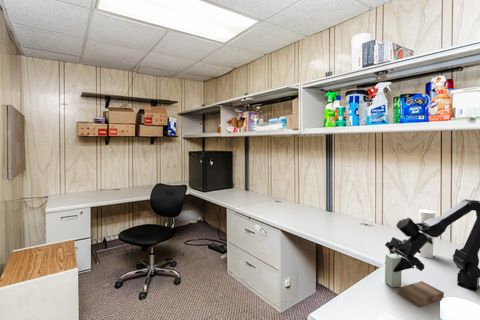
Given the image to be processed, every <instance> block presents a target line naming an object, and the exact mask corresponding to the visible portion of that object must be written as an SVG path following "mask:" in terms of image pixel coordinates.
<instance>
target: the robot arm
mask: <svg viewBox="0 0 480 320" xmlns="http://www.w3.org/2000/svg"><path fill="white" fill-rule="evenodd" d="M472 211H474V212H475V214H476V219H475V221H474V224H473V225H472V228H471V231H470V232H469V235H468V237H467V238H466V242H465V244H464V246H463V247H462V248H460V249H459V248H456V249H455V250H454V252H453V255H452V261H453V263H454V265H456V268H457V269H459V271H458V272H457V277H456V281H457V283H456V284H457V286H460V287H462V288H465V289H468V290H471V291H473V292H477V291H478V290H479V288H480V267H479V264H480V259H479V252H480V200H475V199H474V200H473V199H466V198H465V199H461V201H460V202H459V203H457V204H456V205H455V206H453V207H450V209H448V210H446V211H445V212H444V213H441V214H440V215H439V216H435V218H431V219H428V220H426V221H424V222H422V223H419V222H417V223H415V222H414V220H413V219H411V218H410V217H406V218H403V219H401V220H398V222H397V224H396V228H397V229H399V231H400V232H401V233H402V234H404V236H406V237H408V239H403V240H400V239H398V238H396V237H394V236H392V237H391V240H390V241H387V242H386V243H385V244H384V246H385V247H386V248H387V249H388V251H389V254H396V255H398V256H400V257H401V261H400V263H399V264H398V265H397V266H396V267H395V268H394V270H393V271H394V272H399V271H402V272H403V271H404V270H405V271H406V270H409V269H413V270H414V269H415V268H416V270H419V271H420V272H422V271H423V270H424V269H425V264H424V263H423V262H422V261H421V260H420V259H419V258H418V257H416V254H417V252H418V253H421V251H420V249H421V248H422V247H423V246H424V245H425V244H426V243H429V244H433V245H434V243H433V242H432V238H430V237H427V236H426V235H425V234H428V235H429V236H431V237H434V239H436V238H439V237H440V236H442V234H444V233H445V231H446V230H447V228H448V227H449V226H450V225H451V224H453V223H455V222H456V221H457V220H459V219H461V218H463V217H464V216H465V215H467V214H469V213H471V212H472ZM419 230H420V231H421V232H423V233H420V232H419ZM424 233H425V234H424Z"/></svg>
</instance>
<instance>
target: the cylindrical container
mask: <svg viewBox="0 0 480 320" xmlns="http://www.w3.org/2000/svg"><path fill="white" fill-rule="evenodd" d="M431 218H436V211H433V210H432V209H431V210H429V209H419V210H418V223H422V222H424V221H426V220H428V219H431ZM419 232H420V233H423V232H421V231H420V230H419ZM424 234H425V233H424ZM425 235H426V236H427V237H430V238H432V242H433V244H429V243H426V244H425V245H424V246H423V247H422V248H421V249H420V251H421V253H418V252H417V253H416V254H417V255H418V256H420V257H422V258H429V259H430V258H433V257H434V242H435V241H434V239H435V237H431V236H429V235H428V234H425Z"/></svg>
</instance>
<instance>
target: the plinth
mask: <svg viewBox="0 0 480 320" xmlns="http://www.w3.org/2000/svg"><path fill="white" fill-rule="evenodd" d="M397 293H398V295H399V296H400V297H402V298H404V299H405V300H407V302H410V303H412V304H414V305H415V306H416V307H418V308H421V307H424V306H427V305H431V304H433V303H437V302H439V301H438V300H440V299H442V298H444V299H445V297H444V295H445V294H444V293H445V292H444V291H442V290H441V289H438V288H436V287H435V286H432V285H430V284H428V283H427V282H424V281H418V282H414V283H410V284H407V285H401V286H400V287H398V291H397ZM440 301H441V300H440Z"/></svg>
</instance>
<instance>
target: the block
mask: <svg viewBox="0 0 480 320" xmlns="http://www.w3.org/2000/svg"><path fill="white" fill-rule="evenodd" d="M400 261H401V255H399V256H398V255H396V254H390V253H386V254H385V261H384V262H385V266H384V267H385V270H384V282H385V283H386V284H387V285H388V286H389V287H390V288H396V287H397V288H399V287H402V273H403V270H402V271H399V272H394V271H393V270H394V268H395V267H396V266H397V265H398V264H399V263H400Z"/></svg>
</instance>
